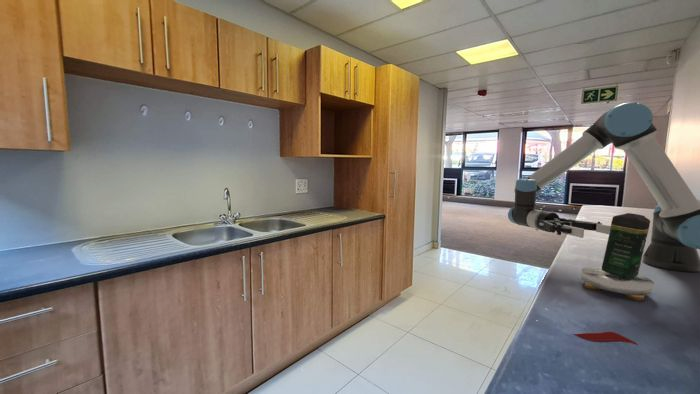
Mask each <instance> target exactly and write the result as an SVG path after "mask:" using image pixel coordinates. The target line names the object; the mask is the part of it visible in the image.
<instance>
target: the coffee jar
mask: <svg viewBox="0 0 700 394" xmlns="http://www.w3.org/2000/svg"><path fill="white" fill-rule="evenodd" d="M650 225H651V220H650V219H649V218H647V217H646V216H645V215H642V214H638V213H632V212H627V213H623V214H617V215H613V216H612V219H611V223H610V226H611V227H610V233H609V234H608V238H607V242H606V247H605V252H604V256H603V260H602V264H601V267H602V270H603V271H605V272H607V273H609V274H611V275H614V276H617V277H625V278H629V279H631V278H634V277H636V276H637V275H639V271H640V267H641V263H642V260H643V255H644V251H645V247H646V241H647V238H648V235H649V230H650Z"/></svg>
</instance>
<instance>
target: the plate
mask: <svg viewBox="0 0 700 394" xmlns="http://www.w3.org/2000/svg"><path fill="white" fill-rule="evenodd" d="M580 279H581V281H583V282H584V288H586V289H589V290H590V291H592V290H593V291H600V289H601V290H605V291H607V292H612V293H617V294H623V295H626V296H625V297H626V298H628V299H630V300H632V301H637V302H644V301H645V296H649V295H653V294H654V288H655V287H654V286H655V284H654V283H655V282H654V281H653V280H651V279H650V278H648V277H646V276H644V275H640V274H638V275H637V276H636V277H634V278H631V279H629V278H625V277H617V276H614V275H611V274H609V273H607V272H605V271H603V270H602V266H587V267H583V268H582V269H581V274H580Z"/></svg>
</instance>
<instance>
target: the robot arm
mask: <svg viewBox="0 0 700 394" xmlns="http://www.w3.org/2000/svg"><path fill="white" fill-rule="evenodd" d="M653 120H654V115H653V112H652V110H651V108H650V107H648V106H647V105H646V104H643V103H641V102H632V101H631V102H624V103H621V104H618V105H615V106H613V107H612V108H609V110H607V111H605V112H604V113H603V114H601V116H599V117H598V119H597V120H596V121H594V122H593V124H591V125H590V126H589V127H588V128H587V129H586V130H584V131H583V132H582V136H581V137H579V138H577V139H576V140H575V141H574V142H572V143H571V144H570V145H568V146H567V147H566V148H565V149H563V150H561V151H560V152H559V153H558V154H557V155H555V156H554V157H552V159H550V160H548V161H547V162H546V163H545V164H543V165H542V166H541V167H540V168H538V169H537V170H536V171H535V172H533V173H532V174H530V175H529V176H528V177H526V178H518V179H517V180H515V185H514V186H515V187H514V206H513V207H512V206H511V207H510V209H509V210H508V212H507V218H508V220H509V221H510V222H511V223H513V224H516V225H518V226H523V227H527V228H532V229H534V230H535V231H543V232H547V233H552V234H554V233H556V235H558V236H562V234H563V235H564V234H565V235H568V236H573V237H577V238H581V239H584V238H585V237H584V236H585V231H594V232H596V233H601V234H605V235H609V233H610V227H611V225H607V224H603V223H602V222H601V221H597V222H596V221H595V222H594V221H587V220H586V221H584V220H578V219H577V220H576V219H571V218H569V219H567V218H564V217H563V218H562V217H560V216H559V214H557V213H556V212H552V211H546V210H541V209H536V201H537V194H538V193H539V192H540V191H542V189H544V188H545V187H547V186H548V185H549V184H551V183H552V182H554V181H555V180H557V179H558V178H560V176H562V175H564V174H565V173H566V172H568V171H569V170H570V169H572V168H574V167H575V166H576V165H578V164H579V163H580V162H581V161H583V160H585V159H586V158H588V157H589V156H590V155H591V154H593V153H594V152H596V151H597V150H603V149H604V148H605V147H607V146H609V145H610V144H612V146H613V147H614V148H615V150H616V149H617V150H620V151H621V150H622V151H623V152H624V153H625V155H626V156H627V158H628V159H629V161H630V163H631V164H632V166H633V167H634V169H635V171H636V172H637V173H638V174H639V177H640V178H641V179H642V181H643V182H644V184H645V185H646V187H647V189H648V190H649V192H650V194H651V195H652V196H653V198H654V199H655V201H656V202H657V204H658V205H656V206H655V207H654V209H653V213H652V218H653V219H652V227H651V235H650V236H651V238H650V243H649V245H648V246H647V249H646V250H644V251H645V252H643V255H642V262H643V261H644V262H643V263H645V264H646V265H649V264H650V266H653V267H657V268H661V269H666V270H672V271H678V272H688V273H700V256H699V252H698V250H700V199H697V198H696V196H695V195H694V194H693V192H692V190H691V189H690V187H689V186H688V185H687V182H685V180H684V178H683V177H682V176H681V173H680V172H679V171H678V169H677V168H676V167H675V165H674V163H673V162H672V161H671V158H669V156H668V155H667V153H666V151H665V150H664V149H663V147H662V146H661V145H660V143H659V141H658V140H657V138H656V135H657V133H658V131H659V130H658V129H657V128H656V126H655V125H654V123H653Z"/></svg>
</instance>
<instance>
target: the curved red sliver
mask: <svg viewBox="0 0 700 394" xmlns="http://www.w3.org/2000/svg"><path fill="white" fill-rule="evenodd" d="M573 335H574V336H577V337H579V338H581V339H584V340H586V341H591V342H592V341H593V342H623V343H631V344H634V345H637V346H639V343H637V342H636V341H633V340H632V339H630V338H628V337H625V336H624V335H622V334H619V333H616V332H614V331H604V332H603V331H602V332H581V333H573Z"/></svg>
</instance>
